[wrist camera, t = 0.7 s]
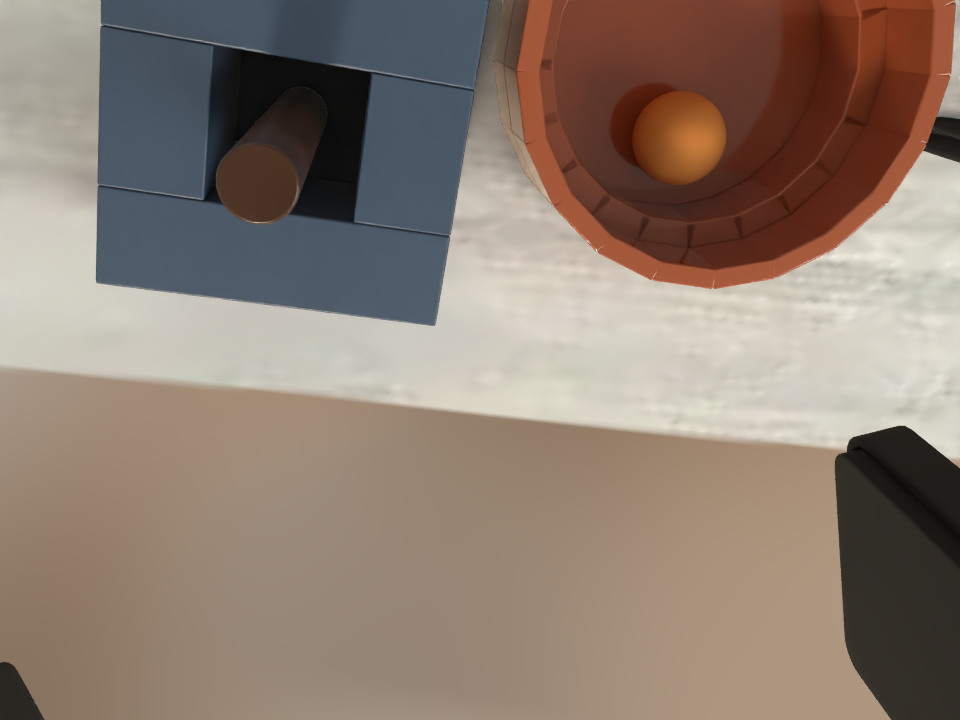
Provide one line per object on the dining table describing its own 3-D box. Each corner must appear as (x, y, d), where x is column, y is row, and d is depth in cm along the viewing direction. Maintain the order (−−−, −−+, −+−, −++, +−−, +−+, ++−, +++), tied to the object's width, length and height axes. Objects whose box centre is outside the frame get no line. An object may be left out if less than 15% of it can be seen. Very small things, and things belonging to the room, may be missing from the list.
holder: (154, -79, 28) (101, -97, 23) (471, -17, 30) (492, -20, 25) (142, 234, 32) (95, 284, 27) (425, 273, 34) (435, 327, 28)
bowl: (533, -194, 28) (572, -239, 23) (906, -107, 31) (1024, -130, 25) (464, 213, 33) (482, 256, 28) (791, 262, 35) (868, 311, 30)
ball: (633, 79, 31) (660, 87, 28) (717, 94, 32) (752, 104, 29) (613, 169, 33) (636, 186, 30) (694, 182, 33) (725, 200, 30)
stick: (278, 82, 31) (217, 136, 19) (330, 91, 31) (304, 149, 19) (273, 134, 31) (212, 219, 19) (324, 142, 32) (295, 230, 20)
